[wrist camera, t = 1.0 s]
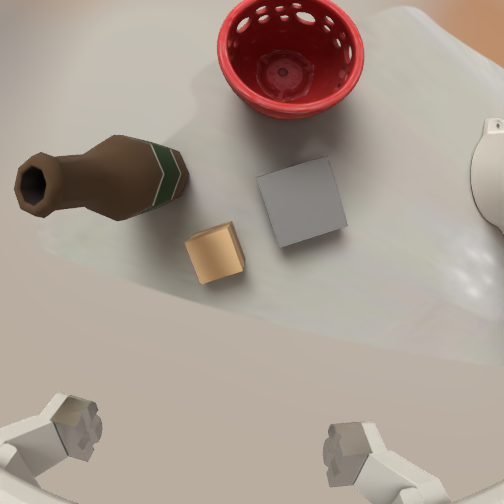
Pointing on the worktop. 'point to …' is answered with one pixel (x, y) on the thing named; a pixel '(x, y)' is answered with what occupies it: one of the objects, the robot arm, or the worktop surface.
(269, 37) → the plant pot
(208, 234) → the oak cube
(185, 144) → the worktop surface
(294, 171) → the block
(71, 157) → the beer bottle
